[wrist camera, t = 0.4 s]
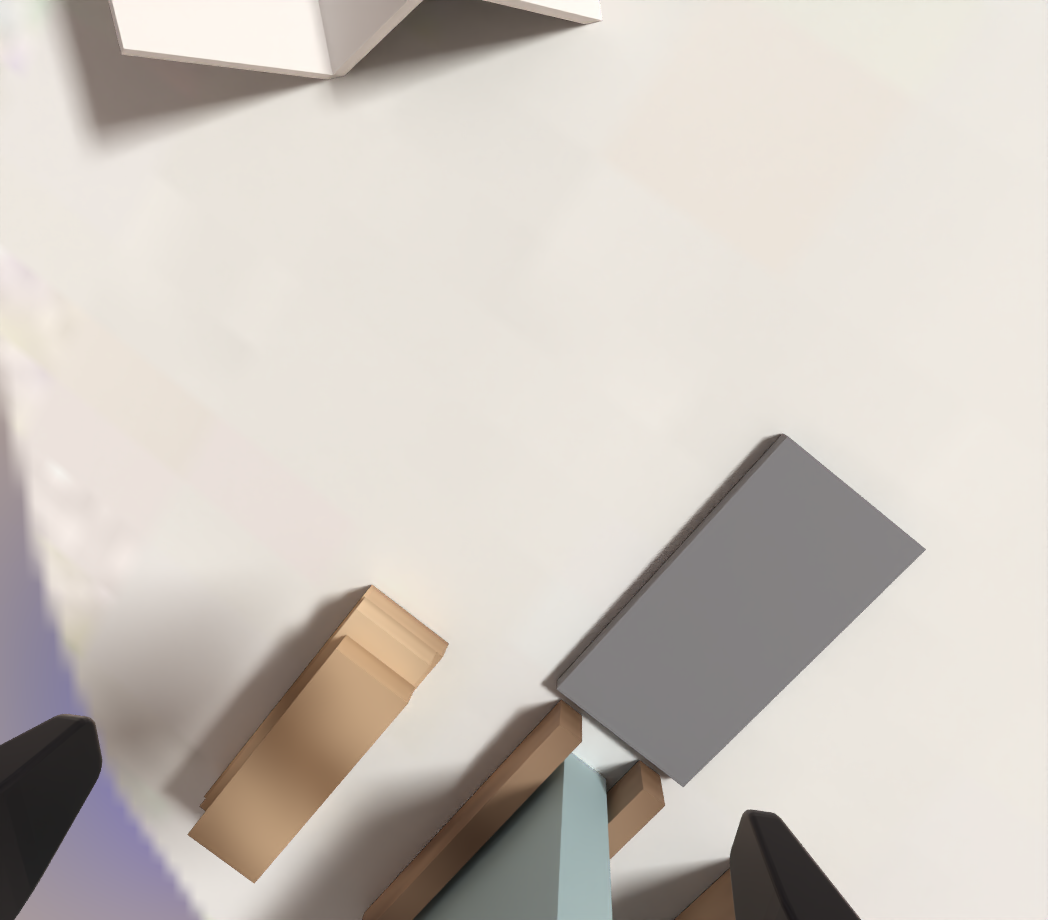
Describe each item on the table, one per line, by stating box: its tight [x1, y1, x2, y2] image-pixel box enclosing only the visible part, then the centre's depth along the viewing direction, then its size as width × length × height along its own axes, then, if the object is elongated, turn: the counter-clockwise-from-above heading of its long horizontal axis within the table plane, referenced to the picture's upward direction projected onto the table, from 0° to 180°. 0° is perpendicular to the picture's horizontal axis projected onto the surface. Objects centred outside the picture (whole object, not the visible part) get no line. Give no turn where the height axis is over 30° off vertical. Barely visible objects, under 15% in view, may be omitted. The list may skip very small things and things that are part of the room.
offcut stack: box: [188, 585, 448, 883], centre depth 24 cm, size 11×4×3 cm, turn 142°
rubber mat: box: [557, 433, 926, 787], centre depth 23 cm, size 12×6×1 cm, turn 142°
